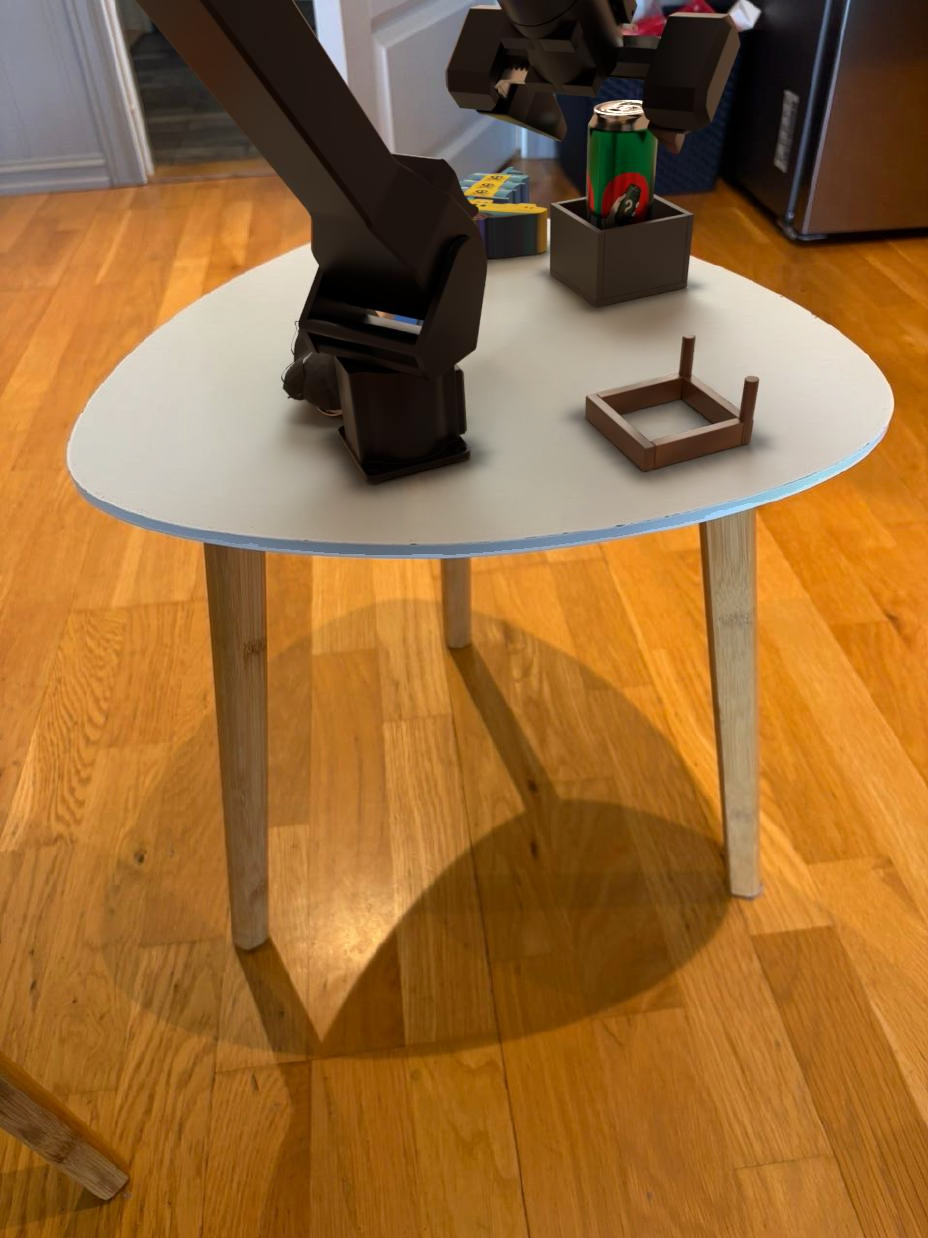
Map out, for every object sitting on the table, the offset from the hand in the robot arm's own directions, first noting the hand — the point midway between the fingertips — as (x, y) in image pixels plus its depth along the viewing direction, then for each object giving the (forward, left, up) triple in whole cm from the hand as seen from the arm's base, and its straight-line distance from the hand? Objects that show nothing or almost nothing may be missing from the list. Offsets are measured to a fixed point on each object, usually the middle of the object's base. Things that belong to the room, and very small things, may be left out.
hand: (619, 140), depth 68 cm
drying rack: (-8, -22, -10) cm, 26 cm away
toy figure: (-23, -5, -11) cm, 26 cm away
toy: (-10, +12, -9) cm, 18 cm away
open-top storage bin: (+1, 0, -10) cm, 10 cm away
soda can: (0, 0, -10) cm, 10 cm away
